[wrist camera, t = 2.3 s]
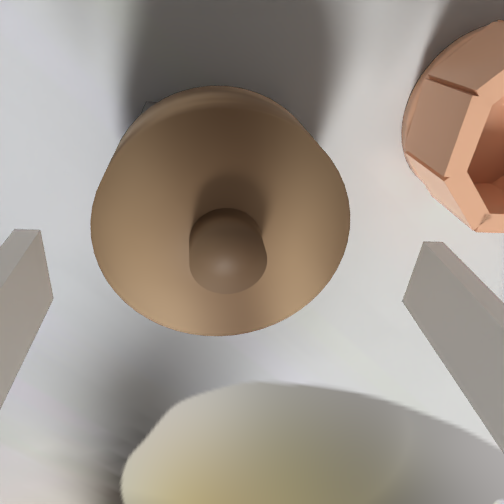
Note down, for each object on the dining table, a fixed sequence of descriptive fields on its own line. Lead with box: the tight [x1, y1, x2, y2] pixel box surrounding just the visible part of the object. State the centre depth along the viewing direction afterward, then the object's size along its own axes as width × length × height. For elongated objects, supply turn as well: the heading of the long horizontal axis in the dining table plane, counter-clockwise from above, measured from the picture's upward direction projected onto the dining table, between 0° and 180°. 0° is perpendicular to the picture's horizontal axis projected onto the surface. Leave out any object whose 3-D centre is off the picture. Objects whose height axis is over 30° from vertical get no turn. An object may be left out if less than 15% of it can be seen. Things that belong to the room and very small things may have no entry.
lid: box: [91, 86, 350, 336], centre depth 17 cm, size 10×10×6 cm
